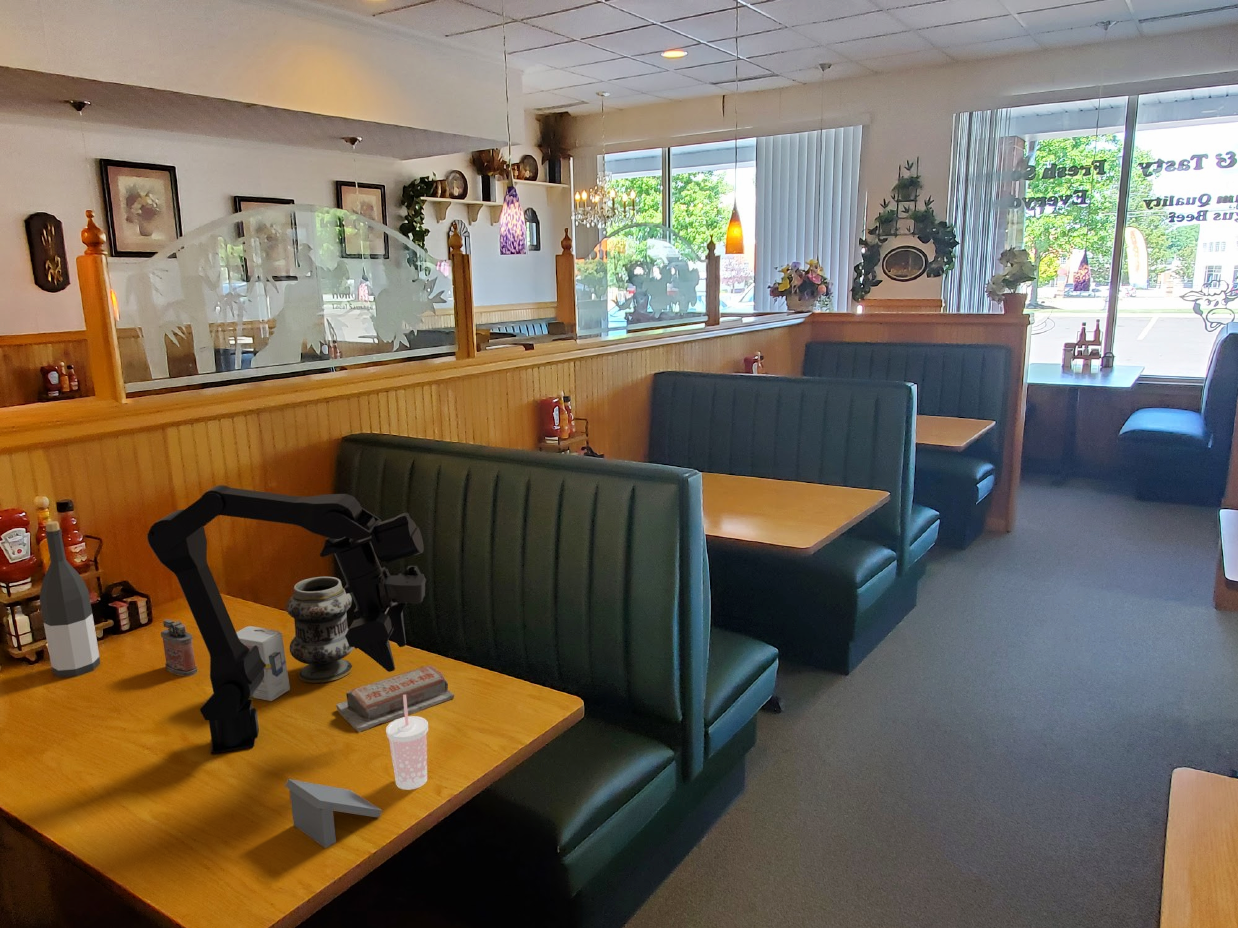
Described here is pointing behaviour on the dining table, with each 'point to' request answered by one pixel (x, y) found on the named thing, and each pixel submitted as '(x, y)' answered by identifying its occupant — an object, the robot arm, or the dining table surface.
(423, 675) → the packaged product
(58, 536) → the wine bottle
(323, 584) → the apothecary jar
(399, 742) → the beverage cup
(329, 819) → the ramp
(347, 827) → the dining table surface
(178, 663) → the lighter
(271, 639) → the ink box
